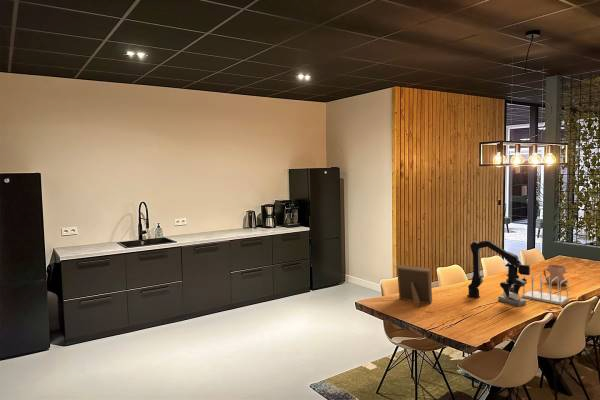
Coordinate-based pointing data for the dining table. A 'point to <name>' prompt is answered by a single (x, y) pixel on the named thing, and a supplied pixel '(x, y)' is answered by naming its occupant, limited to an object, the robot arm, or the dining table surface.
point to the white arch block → (513, 296)
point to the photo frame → (414, 284)
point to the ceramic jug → (556, 274)
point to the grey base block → (512, 301)
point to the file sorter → (546, 296)
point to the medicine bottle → (510, 289)
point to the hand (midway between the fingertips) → (512, 295)
